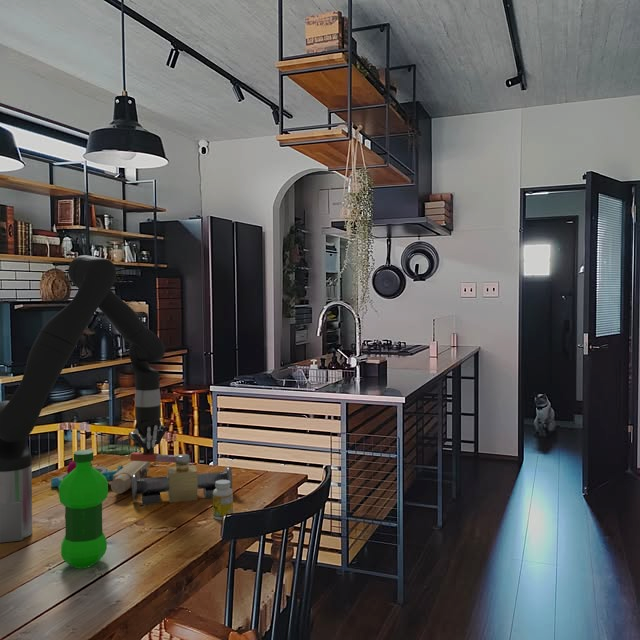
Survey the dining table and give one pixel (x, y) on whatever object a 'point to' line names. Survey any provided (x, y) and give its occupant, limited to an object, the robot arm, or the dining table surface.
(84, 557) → the plastic bottle
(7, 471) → the robot arm
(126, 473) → the butterfly valve
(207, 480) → the pipe valve
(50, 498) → the dining table surface
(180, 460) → the valve lever
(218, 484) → the supplement bottle
